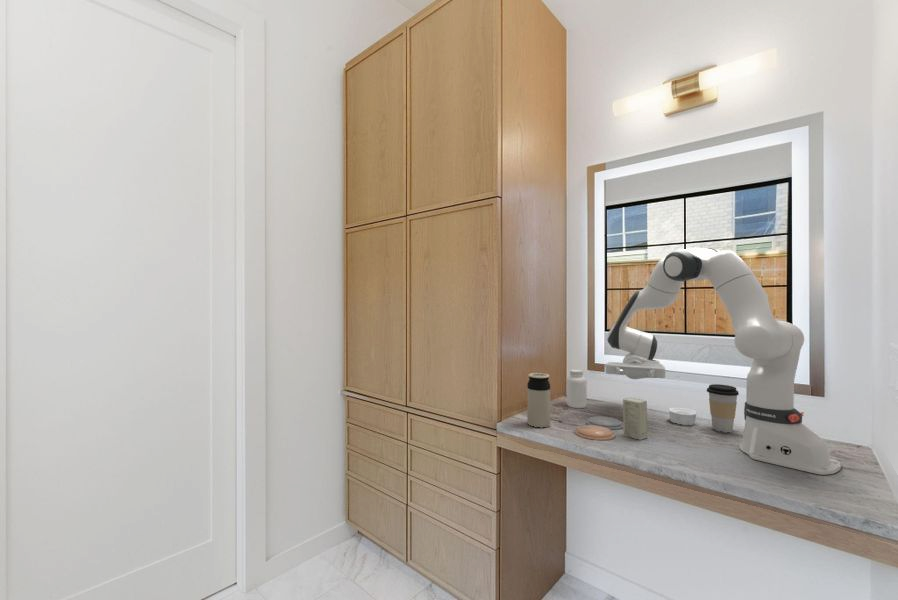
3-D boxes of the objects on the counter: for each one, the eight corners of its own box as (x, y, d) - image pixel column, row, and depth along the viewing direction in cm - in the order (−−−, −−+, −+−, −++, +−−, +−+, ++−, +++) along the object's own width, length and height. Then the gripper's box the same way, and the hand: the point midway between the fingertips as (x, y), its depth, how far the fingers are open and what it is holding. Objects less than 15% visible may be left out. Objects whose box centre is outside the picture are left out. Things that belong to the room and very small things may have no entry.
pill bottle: (563, 403, 179) (564, 369, 178) (581, 403, 179) (581, 368, 179) (571, 408, 171) (571, 372, 171) (589, 408, 172) (590, 372, 171)
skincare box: (647, 437, 136) (648, 400, 136) (640, 440, 133) (640, 402, 133) (630, 432, 141) (630, 396, 141) (622, 435, 139) (622, 398, 138)
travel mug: (554, 425, 148) (554, 375, 148) (539, 429, 144) (539, 377, 144) (538, 420, 155) (538, 371, 155) (522, 423, 150) (522, 374, 150)
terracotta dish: (623, 435, 138) (623, 432, 138) (598, 443, 131) (598, 439, 131) (591, 425, 149) (591, 421, 149) (566, 431, 142) (566, 428, 142)
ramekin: (702, 424, 150) (702, 412, 150) (684, 427, 147) (684, 415, 147) (680, 418, 159) (680, 406, 159) (663, 420, 155) (663, 408, 155)
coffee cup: (744, 435, 139) (744, 390, 139) (712, 433, 141) (713, 388, 141) (730, 426, 148) (731, 384, 148) (701, 424, 150) (702, 383, 150)
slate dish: (631, 425, 149) (631, 422, 149) (608, 432, 142) (608, 428, 142) (600, 416, 160) (600, 413, 160) (578, 422, 153) (578, 418, 153)
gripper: (605, 357, 165) (603, 362, 152) (663, 361, 157) (666, 366, 144) (605, 373, 165) (603, 379, 152) (663, 377, 157) (666, 385, 144)
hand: (634, 373), depth 148 cm, fingers open, 8 cm apart
